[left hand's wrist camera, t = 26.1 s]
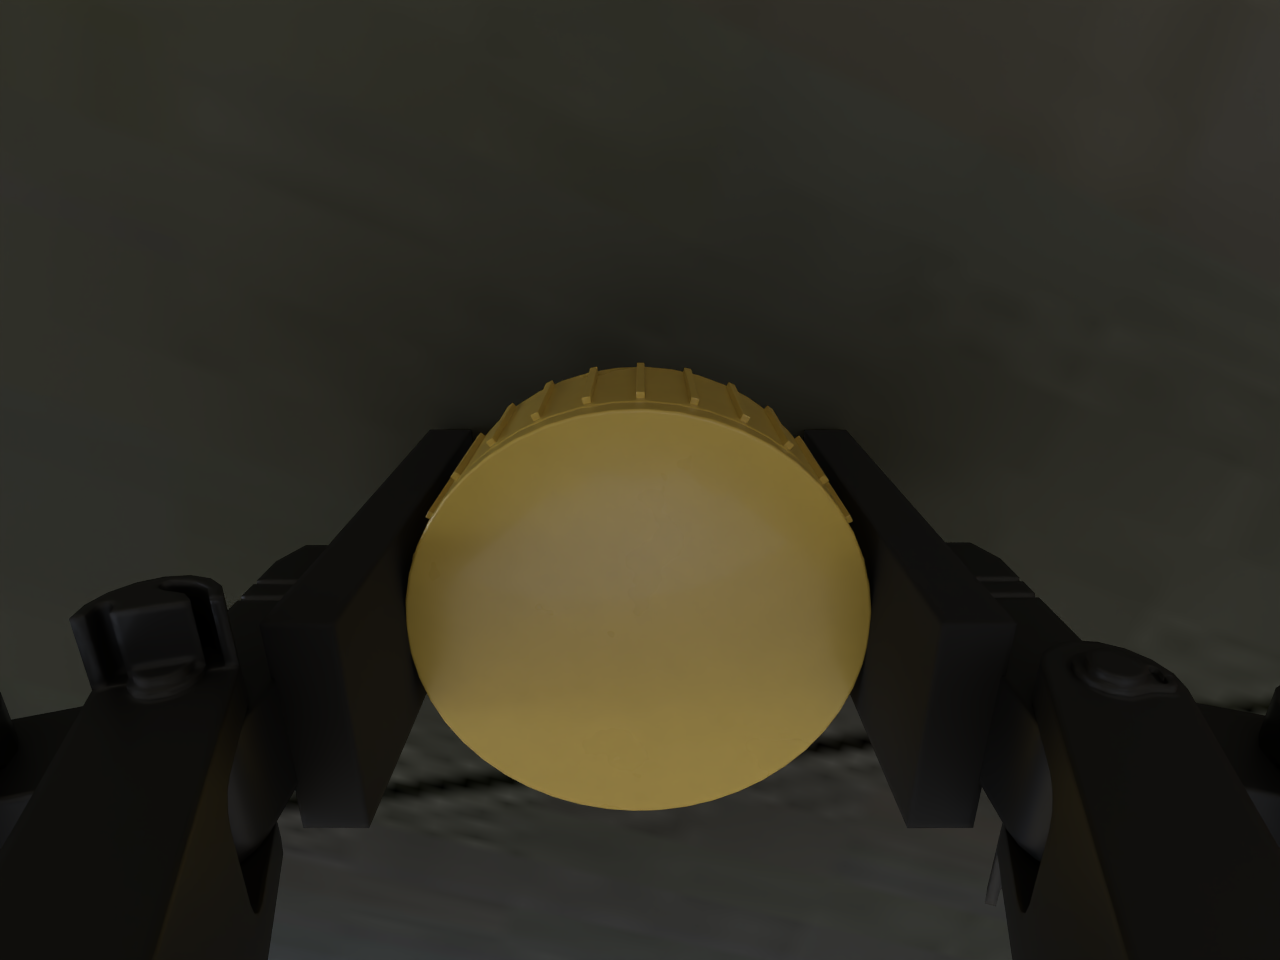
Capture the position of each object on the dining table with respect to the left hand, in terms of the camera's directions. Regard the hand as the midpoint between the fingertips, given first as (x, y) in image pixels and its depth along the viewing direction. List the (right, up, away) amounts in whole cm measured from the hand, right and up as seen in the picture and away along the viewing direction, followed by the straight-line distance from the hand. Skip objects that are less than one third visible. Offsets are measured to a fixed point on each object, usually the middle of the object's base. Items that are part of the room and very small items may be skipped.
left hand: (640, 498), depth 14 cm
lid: (0, -2, -4) cm, 4 cm away
